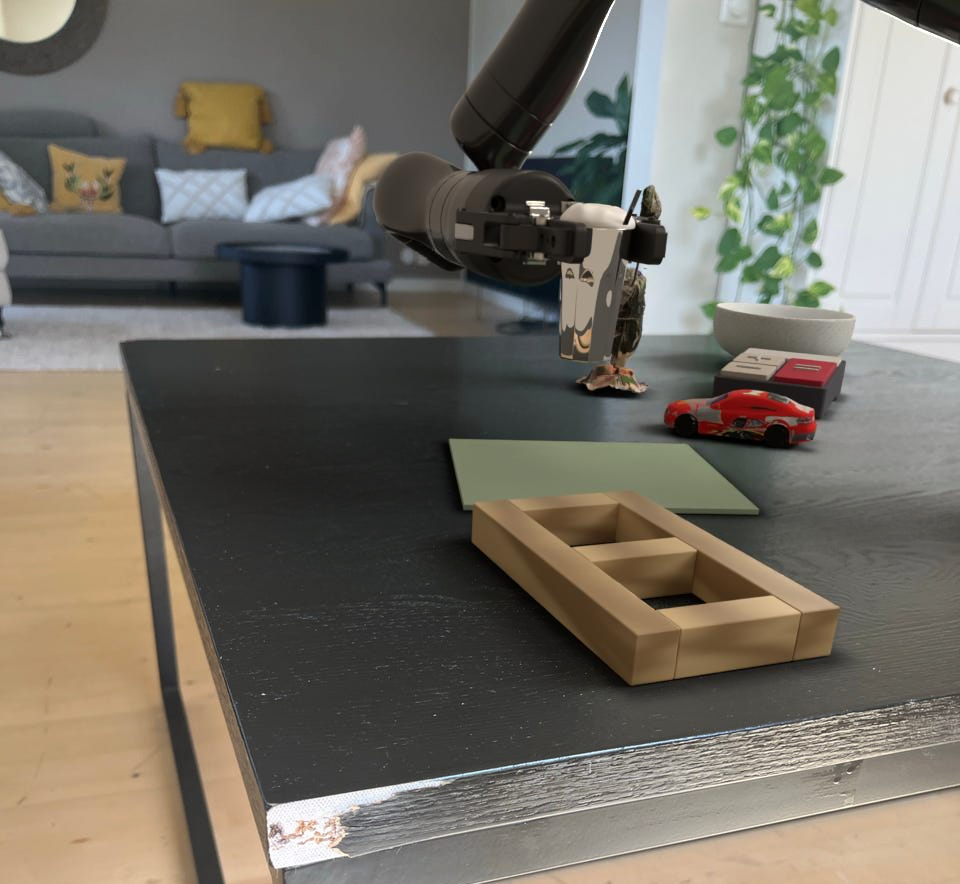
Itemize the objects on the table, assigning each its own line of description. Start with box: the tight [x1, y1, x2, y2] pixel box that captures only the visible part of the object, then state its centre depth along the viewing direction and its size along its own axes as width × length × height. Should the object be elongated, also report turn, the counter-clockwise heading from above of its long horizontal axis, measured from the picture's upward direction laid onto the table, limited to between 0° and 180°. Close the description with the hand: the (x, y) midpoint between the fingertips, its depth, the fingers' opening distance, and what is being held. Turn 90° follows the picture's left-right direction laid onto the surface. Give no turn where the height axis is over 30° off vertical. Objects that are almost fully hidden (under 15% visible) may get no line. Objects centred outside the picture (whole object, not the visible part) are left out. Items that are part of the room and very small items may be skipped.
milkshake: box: [558, 188, 643, 364], centre depth 60 cm, size 4×5×10 cm
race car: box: [663, 390, 818, 448], centre depth 87 cm, size 13×5×4 cm, turn 68°
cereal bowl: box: [712, 302, 857, 358], centre depth 121 cm, size 17×17×7 cm
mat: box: [448, 438, 760, 516], centre depth 74 cm, size 20×18×1 cm
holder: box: [471, 490, 841, 687], centre depth 52 cm, size 11×19×2 cm, turn 21°
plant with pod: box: [575, 184, 663, 394], centre depth 102 cm, size 8×11×20 cm
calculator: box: [711, 348, 847, 419], centre depth 103 cm, size 11×4×15 cm
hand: (620, 245), depth 57 cm, fingers closed on milkshake, 4 cm apart
